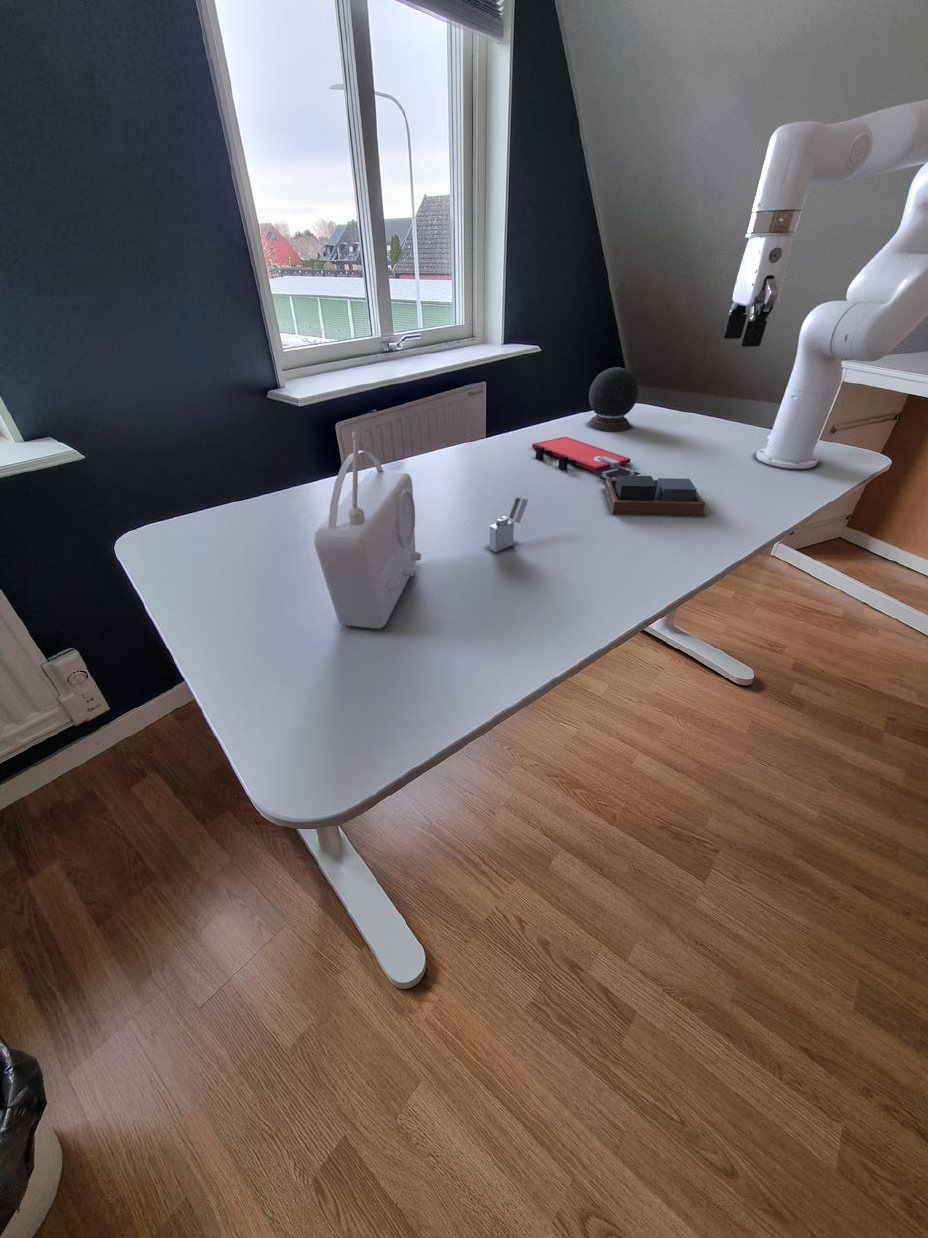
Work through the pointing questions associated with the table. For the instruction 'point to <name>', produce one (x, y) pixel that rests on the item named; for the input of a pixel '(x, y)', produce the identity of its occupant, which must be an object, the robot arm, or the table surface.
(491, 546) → the lighter
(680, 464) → the table surface
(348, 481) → the table surface
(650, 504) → the brown wooden tray
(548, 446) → the red board with handle
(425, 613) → the table surface
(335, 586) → the radio
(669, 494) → the pad
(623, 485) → the black block
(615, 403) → the dark sphere on stand
